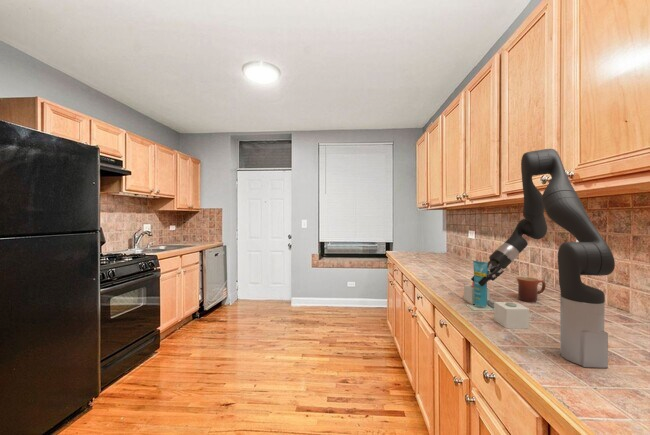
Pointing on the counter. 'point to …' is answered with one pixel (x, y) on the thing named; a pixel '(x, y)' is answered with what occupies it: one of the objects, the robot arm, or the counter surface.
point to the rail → (490, 302)
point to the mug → (529, 288)
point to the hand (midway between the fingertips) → (476, 282)
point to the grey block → (472, 293)
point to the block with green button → (511, 315)
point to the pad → (479, 307)
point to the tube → (479, 290)
